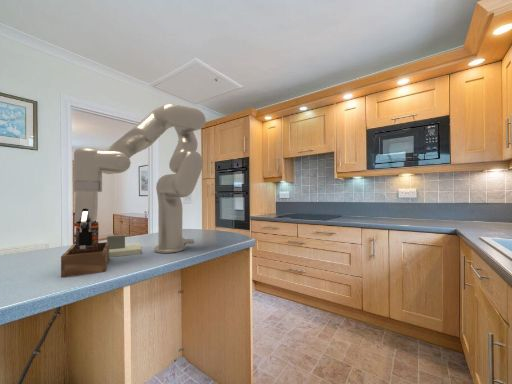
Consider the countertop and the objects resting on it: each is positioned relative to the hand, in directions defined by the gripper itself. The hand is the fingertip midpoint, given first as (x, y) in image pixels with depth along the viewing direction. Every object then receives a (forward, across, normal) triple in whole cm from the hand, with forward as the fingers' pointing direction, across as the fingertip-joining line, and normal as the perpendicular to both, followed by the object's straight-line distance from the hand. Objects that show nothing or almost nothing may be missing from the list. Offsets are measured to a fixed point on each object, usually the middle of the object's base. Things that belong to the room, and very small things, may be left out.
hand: (87, 242), depth 75 cm
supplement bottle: (+3, 0, 0) cm, 3 cm away
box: (+8, 0, 0) cm, 8 cm away
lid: (+8, -16, +7) cm, 19 cm away
